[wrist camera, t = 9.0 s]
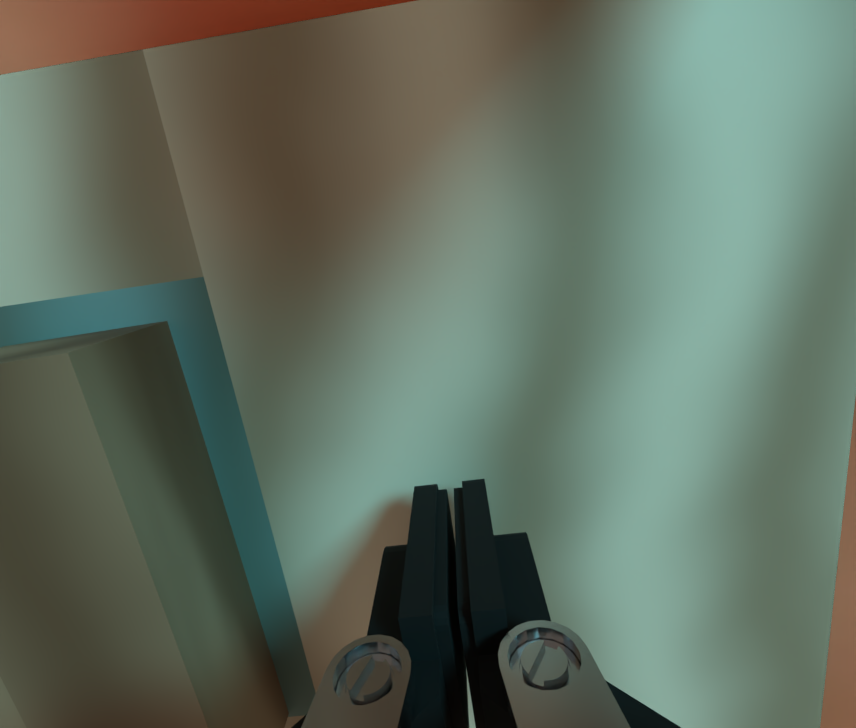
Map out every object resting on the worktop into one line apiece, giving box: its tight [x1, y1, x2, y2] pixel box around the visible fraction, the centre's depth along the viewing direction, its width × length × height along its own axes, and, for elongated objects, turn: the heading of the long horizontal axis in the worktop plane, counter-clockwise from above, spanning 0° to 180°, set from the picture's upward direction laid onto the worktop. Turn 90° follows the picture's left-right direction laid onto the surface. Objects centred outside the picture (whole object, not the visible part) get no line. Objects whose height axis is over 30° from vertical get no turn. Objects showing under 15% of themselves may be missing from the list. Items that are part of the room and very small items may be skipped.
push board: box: [0, 0, 856, 728], centre depth 13 cm, size 30×22×1 cm
